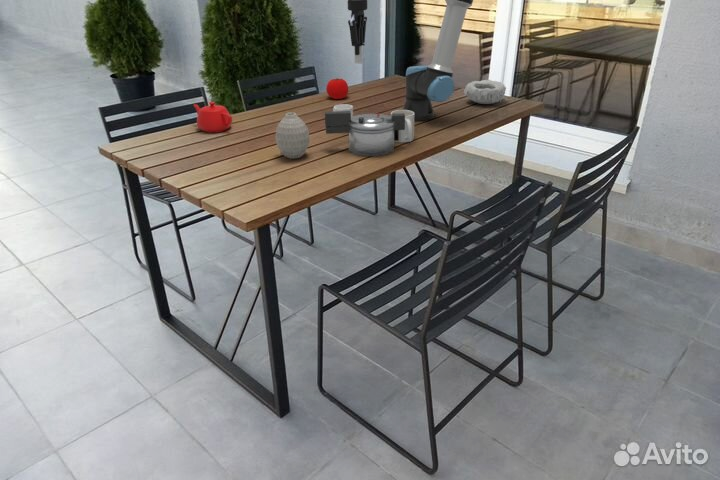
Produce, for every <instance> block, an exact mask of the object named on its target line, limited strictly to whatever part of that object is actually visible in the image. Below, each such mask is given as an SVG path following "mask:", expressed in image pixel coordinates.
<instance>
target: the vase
mask: <svg viewBox="0 0 720 480" xmlns="http://www.w3.org/2000/svg"><path fill="white" fill-rule="evenodd" d="M275 141H276V142H275V143H276V145H277V148H278V150H279V151H280V152H281V154H282V155H283V156H284V157H286V158H288V159H291V160H292V159H294V160H295V159H299V158H302V157H303V156H304V155H305V153H306V151H307V150H308V148H309V144H310V132H309V128H308V127H307V125H306V123H305V122H304V121H303V119H301V118H300V117H299V116H298V115H297V113H296V112H287V113H285V114H284V117H283V118H282V119H281V120H280V121H279V122H278V125H277V127H276V130H275Z"/></svg>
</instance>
